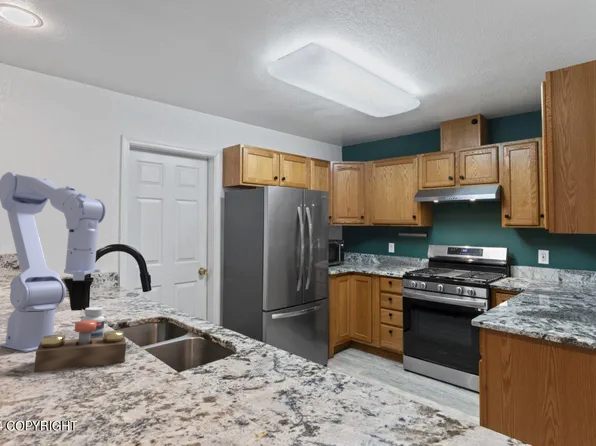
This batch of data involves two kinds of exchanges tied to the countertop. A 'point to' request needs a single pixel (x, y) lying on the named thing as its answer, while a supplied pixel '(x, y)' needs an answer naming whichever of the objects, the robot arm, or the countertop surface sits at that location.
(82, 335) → the red knob
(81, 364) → the block
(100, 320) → the pill bottle
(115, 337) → the right brass button
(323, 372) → the countertop surface
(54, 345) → the left brass button
